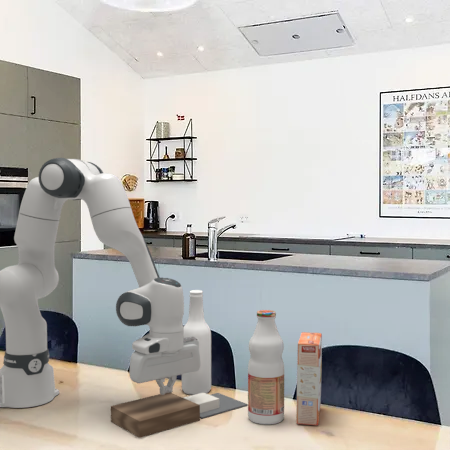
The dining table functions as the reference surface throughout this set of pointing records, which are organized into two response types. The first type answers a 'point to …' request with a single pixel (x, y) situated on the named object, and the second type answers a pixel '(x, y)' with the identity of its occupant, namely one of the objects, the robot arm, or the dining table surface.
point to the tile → (204, 401)
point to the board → (154, 414)
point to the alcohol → (202, 333)
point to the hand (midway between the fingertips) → (166, 393)
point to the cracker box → (309, 378)
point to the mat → (223, 405)
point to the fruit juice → (266, 371)
